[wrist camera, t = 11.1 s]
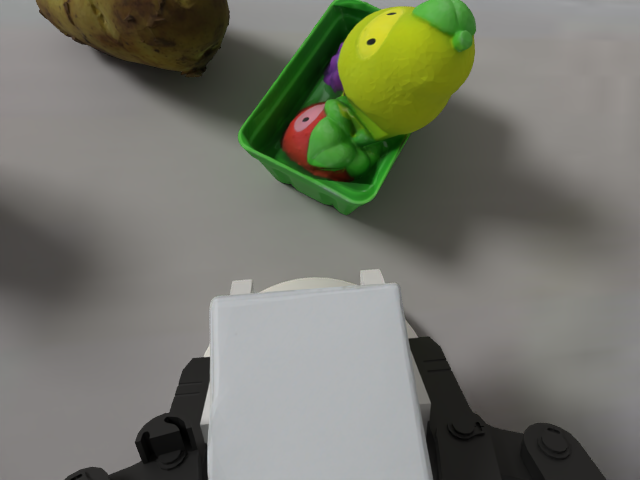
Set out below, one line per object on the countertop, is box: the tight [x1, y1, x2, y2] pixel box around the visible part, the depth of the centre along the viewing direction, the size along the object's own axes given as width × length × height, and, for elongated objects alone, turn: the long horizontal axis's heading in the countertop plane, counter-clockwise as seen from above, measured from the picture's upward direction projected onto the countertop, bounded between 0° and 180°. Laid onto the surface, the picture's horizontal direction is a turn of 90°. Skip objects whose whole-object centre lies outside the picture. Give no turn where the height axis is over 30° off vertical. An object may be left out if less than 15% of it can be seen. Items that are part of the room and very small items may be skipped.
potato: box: [36, 0, 230, 77], centre depth 24 cm, size 8×13×8 cm, turn 45°
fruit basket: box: [238, 0, 476, 215], centre depth 21 cm, size 11×9×11 cm
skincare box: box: [207, 283, 433, 480], centre depth 13 cm, size 6×4×12 cm
